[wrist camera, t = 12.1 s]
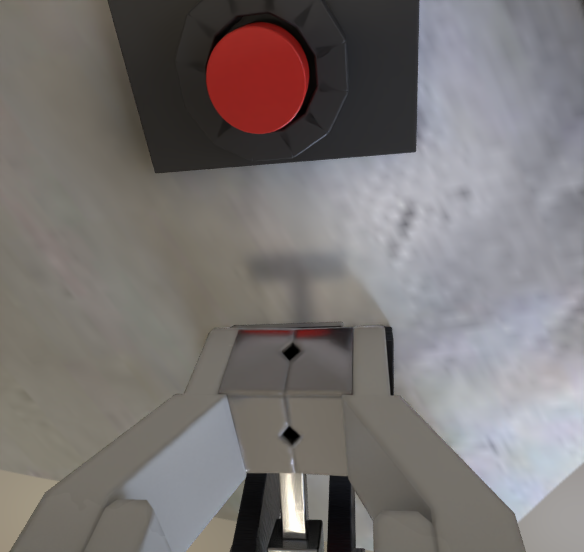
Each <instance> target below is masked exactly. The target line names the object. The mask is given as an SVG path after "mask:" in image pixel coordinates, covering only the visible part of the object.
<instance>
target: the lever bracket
mask: <svg viewBox="0 0 584 552" xmlns="http://www.w3.org/2000/svg"><path fill="white" fill-rule="evenodd" d="M384 328H385V336H386V348H387V360H388V372H389V384H390V395H392V396H394V350H393V333H392V327H384ZM353 331H354V328H353ZM280 509H281V508H280V489H279V473H247V475H246V480H245V485H244V489H243V494H242V499H241V504H240V509H239V514H238V519H237V524H236V530H235V534H234V539H233V545H232V547H231V549H230V552H267V547H268V544H269V541H270V538H271V535H272V531H273V528H274V525H275V522H276V519H279V517H280ZM327 552H365V549H364V548H356V539H355V489H354V488H353V486H352V484H351V483H350V481H349V479H348V476H333V475H330V481H329V511H328V540H327Z"/></svg>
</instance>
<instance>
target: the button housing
mask: <svg viewBox="0 0 584 552" xmlns="http://www.w3.org/2000/svg"><path fill="white" fill-rule="evenodd" d="M108 4H109V7H110V11H111V14H112V18H113V22H114V25H115V29H116V33H117V36H118V40H119V43H120V47H121V51H122V54H123V58H124V61H125V65H126V69H127V72H128V76H129V80H130V83H131V87H132V90H133V94H134V98H135V101H136V105H137V109H138V112H139V116H140V119H141V123H142V127H143V130H144V134H145V138H146V141H147V145H148V148H149V152H150V156H151V159H152V163H153V167H154V170H155V173H165V172H178V171H190V170H202V169H215V168H227V167H239V166H252V165H264V164H276V163H288V162H301V161H313V160H325V159H338V158H350V157H362V156H375V155H387V154H399V153H411V152H416V129H417V83H418V37H419V0H108ZM255 22H266V23H271V24H275V25H277V26H280V27H282V28H283V29H285V30H287V31H288V32H289V33H291V34H292V35H293V36H294V37H295V38H296V39H297V41H298V42H299V43H300V45H301V47H302V48H303V50H304V52H305V55H306V57H307V61H308V65H309V85H308V89H307V92H306V95H305V98H304V101H303V103H302V106H301V108H300V110H299V112H298V113H297V114H296V116H295V117H294V118H293V119H292V120H291V121H290V122H289V123H288V124H287V125H285V126H284V127H282V128H281V129H279V130H276V131H274V132H270V133H265V134H253V133H248V132H244V131H242V130H239V129H237V128H235V127H233V126H232V125H230V124H229V123H228V122H226V121H225V120H224V119H223V118H222V117H221V116H220V114H219V113H218V112H217V110H216V109H215V107H214V106H213V104H212V102H211V99H210V97H209V94H208V90H207V84H206V69H207V64H208V60H209V57H210V55H211V53H212V51H213V49H214V47H215V46H216V45H217V43H218V42H219V41H220V40H221V39H222V38H223V37H224V36H225V35H227V34H228V33H230V32H232V31H233V30H235V29H237V28H240V27H242V26H244V25H247V24H250V23H255Z"/></svg>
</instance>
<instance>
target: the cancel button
mask: <svg viewBox="0 0 584 552" xmlns="http://www.w3.org/2000/svg"><path fill="white" fill-rule="evenodd" d="M206 84H207V90H208V94H209V97H210V99H211V102H212V104H213V106H214V107H215V109H216V110H217V112H218V113H219V114H220V116H221V117H222V118H223V119H224V120H225V121H226V122H228V123H229V124H230V125H232V126H233V127H235V128H237V129H239V130H242V131H244V132H248V133H253V134H265V133H270V132H274V131H276V130H279V129H281V128H282V127H284V126H285V125H287V124H288V123H289V122H290V121H291V120H292V119H293V118H294V117H295V116H296V114H297V113H298V112H299V110H300V108H301V106H302V103H303V101H304V98H305V95H306V92H307V89H308V85H309V65H308V61H307V57H306V55H305V52H304V50H303V48H302V47H301V45H300V43H299V42H298V41H297V39H296V38H295V37H294V36H293V35H292V34H291V33H289V32H288V31H287V30H285V29H283V28H282V27H280V26H277V25H275V24H271V23H266V22H255V23H250V24H247V25H244V26H242V27H240V28H237V29H235V30H233V31H232V32H230V33H228V34H227V35H225V36H224V37H223V38H222V39H221V40H220V41H219V42H218V43H217V45H216V46H215V47H214V49H213V51H212V53H211V55H210V57H209V60H208V64H207V69H206Z"/></svg>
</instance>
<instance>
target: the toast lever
mask: <svg viewBox="0 0 584 552" xmlns="http://www.w3.org/2000/svg"><path fill="white" fill-rule="evenodd" d="M336 327H343V322H319V323H288V324H257V325H234V326H232V327H230V328H336ZM279 489H280V508H281V519H276V522H275V525H274V528H273V531H272V535H271V538H270V541H269V544H268V547H267V552H324V539H323V522H322V520H309V516H308V496H307V477H306V474H300V473H279Z"/></svg>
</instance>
